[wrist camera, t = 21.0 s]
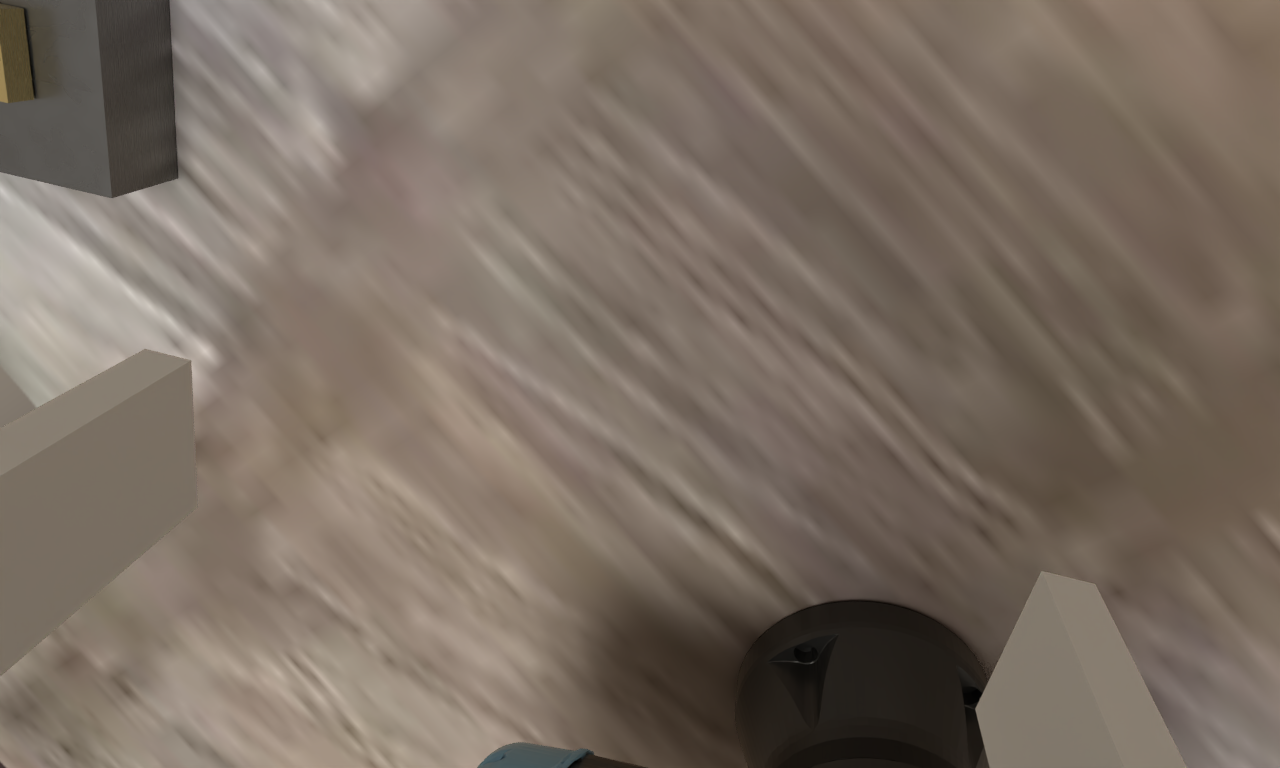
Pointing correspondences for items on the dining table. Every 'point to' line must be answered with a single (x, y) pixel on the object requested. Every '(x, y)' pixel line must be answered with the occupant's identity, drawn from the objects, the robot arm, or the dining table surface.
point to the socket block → (94, 97)
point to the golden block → (14, 56)
